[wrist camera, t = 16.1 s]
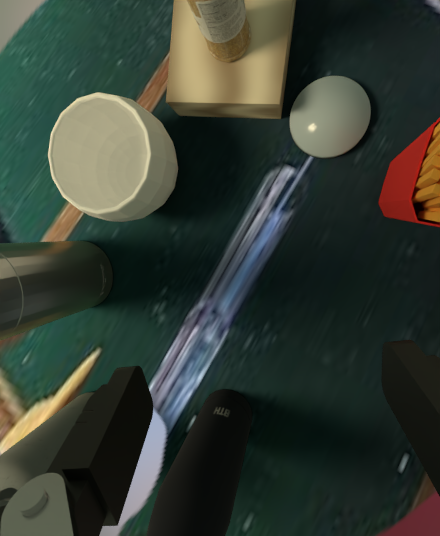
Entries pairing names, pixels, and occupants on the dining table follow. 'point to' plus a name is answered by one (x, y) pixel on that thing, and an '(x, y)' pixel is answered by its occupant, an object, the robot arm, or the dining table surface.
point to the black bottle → (205, 471)
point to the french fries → (415, 181)
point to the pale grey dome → (329, 117)
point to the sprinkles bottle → (223, 27)
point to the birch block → (231, 65)
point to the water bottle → (37, 449)
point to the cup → (112, 158)
